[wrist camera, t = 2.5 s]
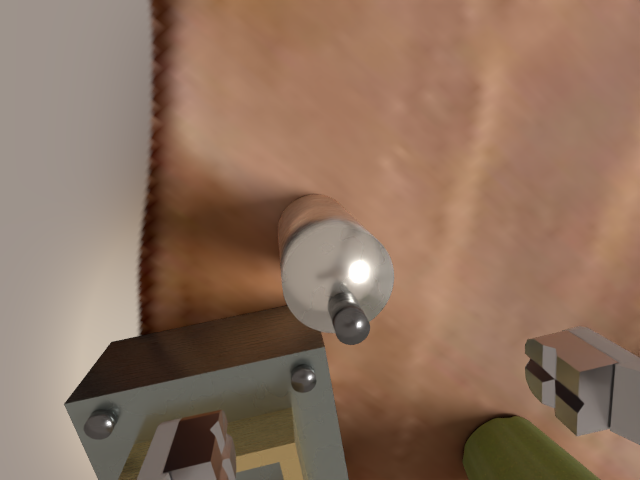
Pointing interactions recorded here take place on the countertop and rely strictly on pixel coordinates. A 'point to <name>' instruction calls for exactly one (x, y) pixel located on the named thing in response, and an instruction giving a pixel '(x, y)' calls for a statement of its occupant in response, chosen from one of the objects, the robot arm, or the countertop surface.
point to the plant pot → (518, 454)
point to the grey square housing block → (216, 396)
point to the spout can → (332, 268)
